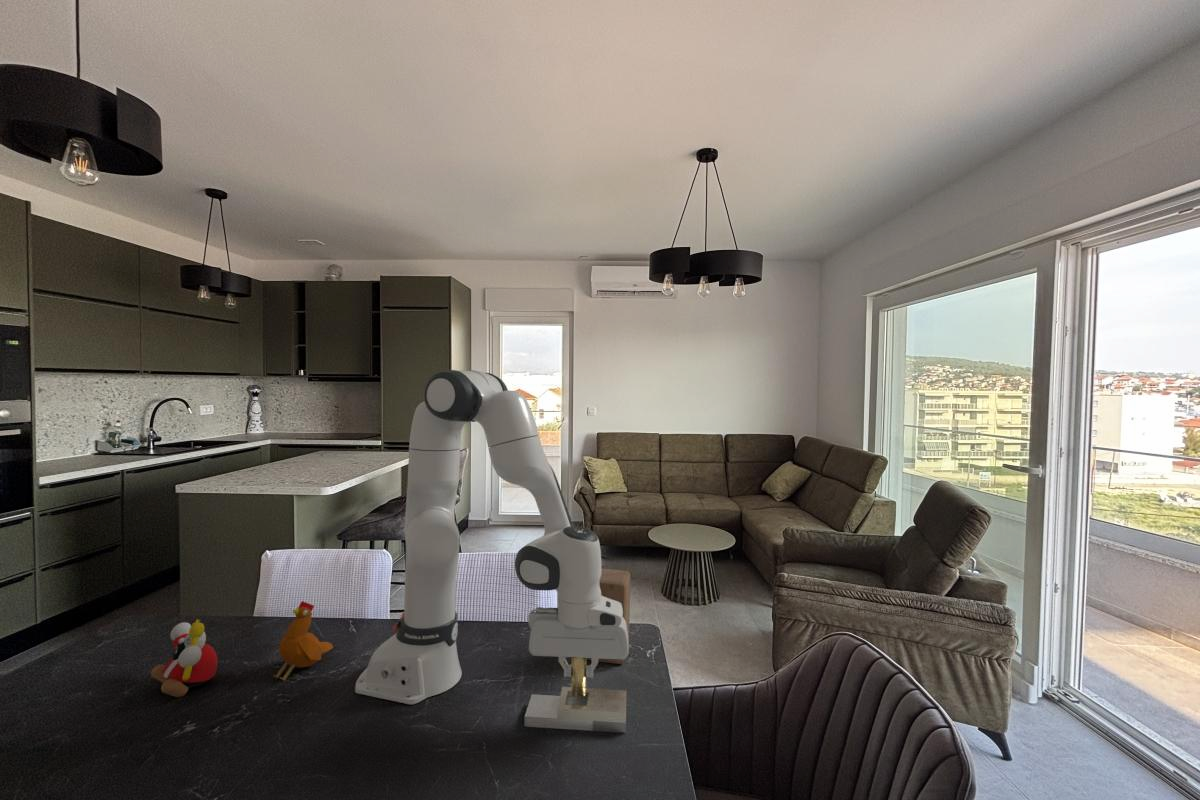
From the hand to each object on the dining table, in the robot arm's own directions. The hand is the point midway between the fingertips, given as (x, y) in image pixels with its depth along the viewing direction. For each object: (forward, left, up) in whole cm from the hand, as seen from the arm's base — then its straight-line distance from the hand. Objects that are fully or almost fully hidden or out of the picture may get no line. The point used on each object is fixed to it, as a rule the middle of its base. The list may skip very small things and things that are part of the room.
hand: (578, 676), depth 99 cm
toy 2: (-66, +12, -9) cm, 68 cm away
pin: (0, 0, -4) cm, 4 cm away
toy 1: (-86, +2, -9) cm, 87 cm away
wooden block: (+5, +25, -9) cm, 27 cm away
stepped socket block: (0, 0, -9) cm, 9 cm away
